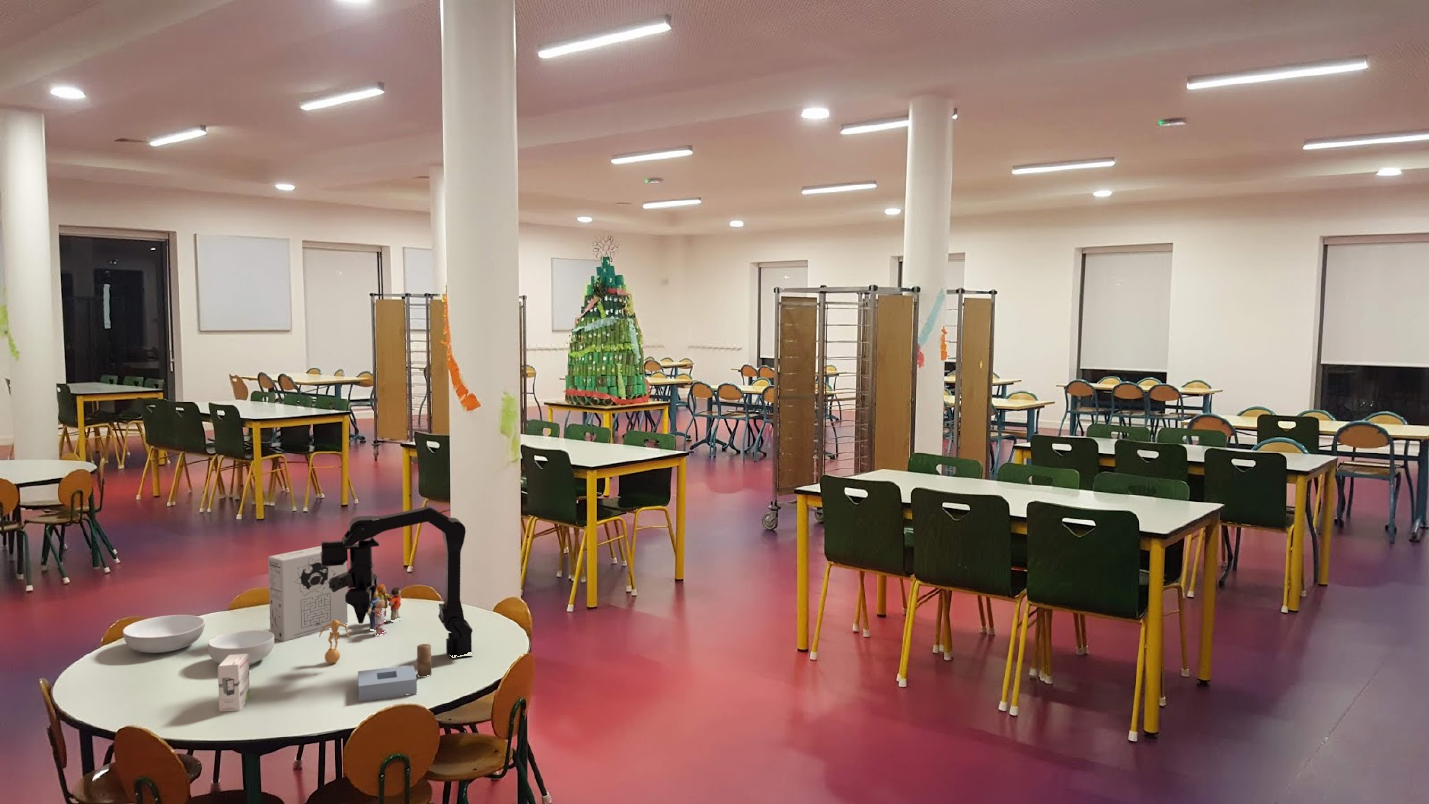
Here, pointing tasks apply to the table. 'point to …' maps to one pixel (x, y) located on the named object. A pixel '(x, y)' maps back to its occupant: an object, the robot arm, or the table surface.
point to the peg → (424, 659)
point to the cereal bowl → (241, 645)
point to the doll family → (383, 607)
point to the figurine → (334, 654)
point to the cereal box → (303, 594)
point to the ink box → (233, 682)
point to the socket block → (386, 682)
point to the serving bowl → (164, 633)
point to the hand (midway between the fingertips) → (363, 618)
